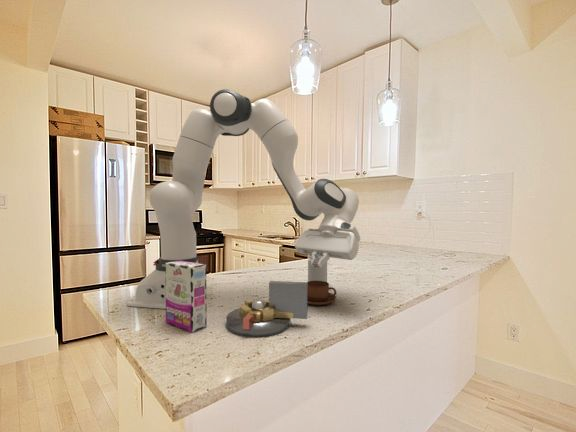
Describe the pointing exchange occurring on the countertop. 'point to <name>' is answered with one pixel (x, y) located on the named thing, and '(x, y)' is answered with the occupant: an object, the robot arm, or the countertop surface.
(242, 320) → the cap plate
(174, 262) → the candy bar box
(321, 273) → the can
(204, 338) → the countertop surface
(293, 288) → the gray slab gold ring
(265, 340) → the countertop surface
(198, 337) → the countertop surface
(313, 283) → the cup and saucer
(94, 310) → the countertop surface
